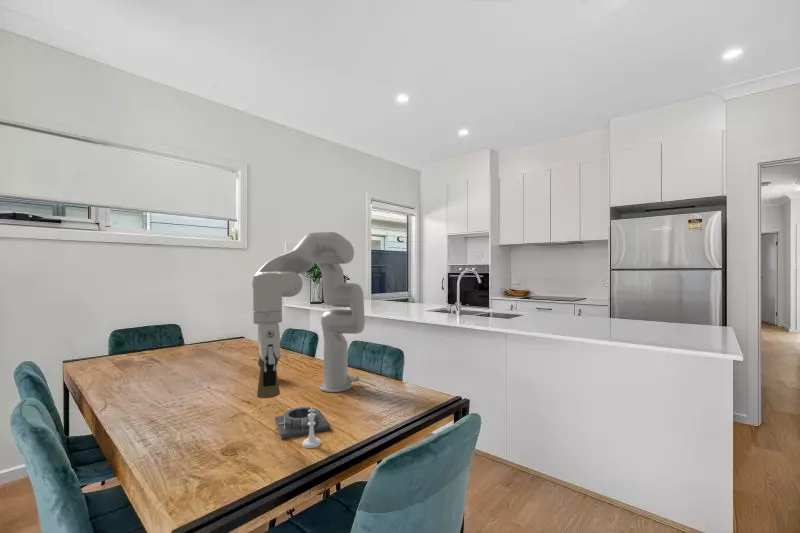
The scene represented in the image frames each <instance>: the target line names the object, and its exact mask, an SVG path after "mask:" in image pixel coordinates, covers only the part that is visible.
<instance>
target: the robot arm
mask: <svg viewBox="0 0 800 533" xmlns="http://www.w3.org/2000/svg"><path fill="white" fill-rule="evenodd" d="M354 256H355V249H354V247H353V244H352V243H351V242H350V241H349V240H348V239H347V238H346V237H344V236H343V235H341V234H339V233H338V232H335V231H320V232H318V231H317V232H309V233H307V234H305V236H303V237H302V238H301V240H299V242H298V243H297V244H296V245H295V246H294V248H293V249H292V250H290V251H287V252H286V253H284V254H281V255H279V256H277V257H274V258H272V259H271V260H269V261H267V262H266V263H264V264H263V265H262V266H261V267H260V268H259V269H258V271H257V272H256V273H255V274H254V275H253V277H252V284H251V285H252V299H253V300H252V302H253V303H252V307H253V310H252V312H253V315H252V318H253V320H252V321H253V322H252V323H253V324H254V325H257V343H258V344H257V345H258V352H259V353H258V354H259V358H260V357H261V359H262V360H263V361H264V372H263V386H264V387H267V386H274V385H276V370H277V369H276V370H275V357H276V358H277V359H278V360H280V359H281V357H282V354H281V337H280V336H281V334H280V324H281V323H282V322H283V298H291V297H295V296H297V295H299V294H300V293H301V291H302V288H303V280H302V277H301V275H300V274H304V273H305V272H309V271H310V270H311V269H312V268H313V267H314V265H315V264H316V266H317V267H318V268H319V270H320V273H321V279H322V280H321V281H322V296H323V297H322V298H323V303H324V304H325V305H326V306H328V307H333V308H335V309H333V308H332V309H328V310H326V311H324V313H322V315H321V318H320V324H321V330H322V335H323V336H322V337H323V382H322V383H321V384H320V385H319V389H320V390H321V391H323V392H326V393H340V392H345V391H348V390H350V389H351V388H352V383H353V382H359V381H360V376H359V375H357V376H355V375H349V374H348V371H349V370H348V369H349V367H348V366H349V364H348V358H349V356H348V351H349V350H348V345H349V344H348V341H347V339H346V338H345V336H344V335H343V334H345V335H346V334H348V335H349V334H351V335H352V334H353V335H355V334H356V335H357V334H361V333H362V332H363V331H364V329H365V324H366V322H365V321H366V320H365V301H364V300H365V299H364V291H363V288H362V286H361V285H360V284H358V283H354V282H351V283H350V282H345V278H344V270H343V268H342V266H341V264H342V265H343V264H345V265H347V264H350V263H351V262H352V261H353V259H354ZM336 308H349V309H336ZM266 358H268V360H266ZM266 362H268V363H267V364H266Z"/></svg>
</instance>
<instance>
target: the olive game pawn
mask: <svg viewBox="0 0 800 533" xmlns="http://www.w3.org/2000/svg"><path fill="white" fill-rule="evenodd" d="M266 360H268V358H266ZM267 363H268V362H266V364H267ZM278 363H279V359H277V358H276V357H275V370H276V385H274V386H267V387H264V386H263V372H264V361H263V360H262V359H261V357H260V356H259V358H258V361H257V364H258V365H257V366H258V367H259V375H258V384H257V392H256V397H257V398H259V399H271V398H275V397H276V398H277V397H278V396H279V395H280V394H281V392H280V385H279V378H278V371H277V366H278Z"/></svg>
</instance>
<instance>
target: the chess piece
mask: <svg viewBox="0 0 800 533" xmlns="http://www.w3.org/2000/svg"><path fill="white" fill-rule="evenodd" d="M310 407H311V410H308V412H311V413H310V414H308V418H309V421H310V422H308V425H310V429H309V434H308V436H307V438H306V439H303V441H302V445H301V446H302V447H303V448H306V449H313V448H317V447H319V446H320V445H321V443H322V441H321V439H320V438H319V437H317V436H315V433H314V427H313V425H315V424H316V423H315V422H314V417H315V414H314V413H312V412H315V409H313V410H312V408H313V406H310Z"/></svg>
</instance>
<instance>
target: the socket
mask: <svg viewBox="0 0 800 533" xmlns="http://www.w3.org/2000/svg"><path fill="white" fill-rule="evenodd" d="M311 407H312V406H303V407H301V406H300V407H295V408H291V409H288V410H287V411H286V412H285V413H284V414H283V415H280V416H279V415H278V416H274V423H275V426H276V429H277V430H278V433H279V436H280V438H281V440H286V439H292V438H296V437H301V436H307V435H309V429H310V425H308V422H310V421H309V418H308V414H310V413H311V412H308V410H311ZM313 409H315V412H312V413H314V414H315V417H314V422H315V423H316V424H315V425H313V427H314V434H317V433H322V432H328V431H331V424H330V423H329V421H328V419H326V417H325V416H324V414H323V413H322V411H321V410H320V409H318V408H315V407H312V410H313Z"/></svg>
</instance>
